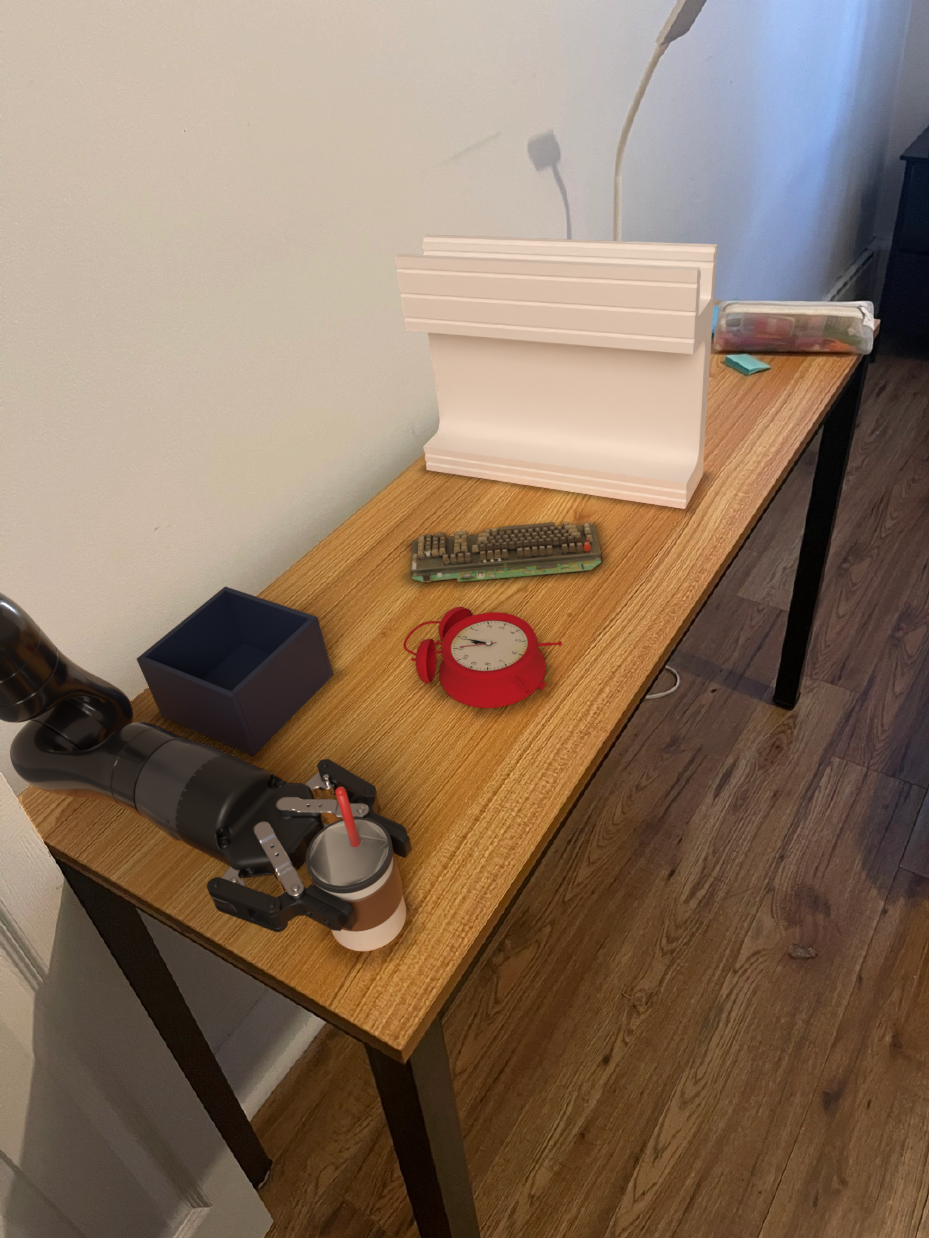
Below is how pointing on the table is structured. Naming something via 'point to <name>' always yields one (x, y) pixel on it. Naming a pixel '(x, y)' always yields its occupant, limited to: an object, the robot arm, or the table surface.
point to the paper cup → (359, 877)
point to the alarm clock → (483, 658)
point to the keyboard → (506, 553)
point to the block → (567, 361)
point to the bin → (237, 668)
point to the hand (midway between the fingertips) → (380, 881)
